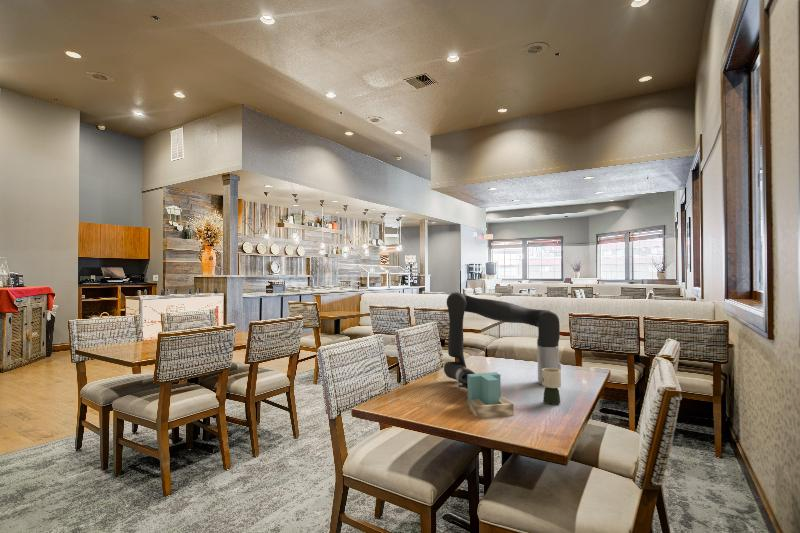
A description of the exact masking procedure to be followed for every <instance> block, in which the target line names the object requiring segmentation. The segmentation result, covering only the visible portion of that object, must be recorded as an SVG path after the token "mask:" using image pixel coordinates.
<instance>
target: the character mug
mask: <svg viewBox="0 0 800 533" xmlns="http://www.w3.org/2000/svg"><path fill="white" fill-rule="evenodd" d="M541 385H542V386H543V387H544V390H543V397H542V398H543V402H544V403H545V404H550V405H553V404H556V405H557V404H561V396H560V390H559V388H561V387H562V369H561V370H559V369H555V368H543V369H542V384H541Z"/></svg>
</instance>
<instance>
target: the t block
mask: <svg viewBox="0 0 800 533" xmlns="http://www.w3.org/2000/svg"><path fill="white" fill-rule="evenodd" d="M467 382H468V389H467V405H468V407H470V400H475V399H479V400H480V401H482V402H483V403H484V404H485V405H491V404H499V398H502V396H501V395H502V394H501V393H502V390H501V388H502V387H501V374H500V373H498V372H496V371H495V372H482V373H481V372H479V373H475V374H467Z"/></svg>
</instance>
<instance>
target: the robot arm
mask: <svg viewBox="0 0 800 533" xmlns="http://www.w3.org/2000/svg"><path fill="white" fill-rule="evenodd" d="M446 306H447V310H448V312H447V313H448V317H449V330H448V341H447V342H448V344H447V346H448V348H447V349H448V350H447V351H448V352H447V353H448V356H449V357H451V358H455V359H457V360H458V361H457V360H456V361H447V362H445V364H444V366H443V372H444V375H446V377H448V378H450V379H453V380H456V381H457V382H458V388H463V389H467V390H468V382H467V374H476V372H474V371H473V370H471V369H470V368H468V367H467V365H466V360H465V356H464V316H465V312H466V313H472V314H476V315H479V316H482V317H483V318H486V319H491V320H492V321H496V322H503V323H511V324H515V323H516V324H525V325H530V326H533V327H536V328H537V329H538V331H537V332H538V337H537V341H536V347H537V348H536V353H537V354H536V355H537V383H538V384H539V385H542V369H543V368H555V369H559V370H561V371H562V366H561V365H562V364H561V363H560V356H559V350H560V349H559V348H560V347H559V342H560V337H561V336H560V335H561V334H560V333H561V330H560V319H559V316H558V315H557V313H556V312H553V311H550V310H548V309H538V308H537V309H535V308H529V307H528V308H527V307H525V306H524V307H523V306H521V305H517V304H515V303H510V302H506V301H502V300H501V301H500V300H496V299H487V298H478V297H473V296H470V295H467V294H464V293H461V292H457V291H456V292H452V293H450V294H449V295H448V296H447V299H446Z"/></svg>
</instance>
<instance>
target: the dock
mask: <svg viewBox="0 0 800 533" xmlns="http://www.w3.org/2000/svg"><path fill="white" fill-rule="evenodd" d="M514 408H515V406H514V403H512V402H511V401H510V400H508V399H507V398H505V397H503V396H501V398H499V404H491V405H485V404H484V403H483V402H482V401H480V400H479V399H475V400H470V406H469V411H470V412H471V413H472V414H473V415H474V416H475V417H476V418H478V419H485V417H487V418H495V417H496V418H498V417H499V418H501V417H510V416H511V415H512V416H514V415H515V411H514Z"/></svg>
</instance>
